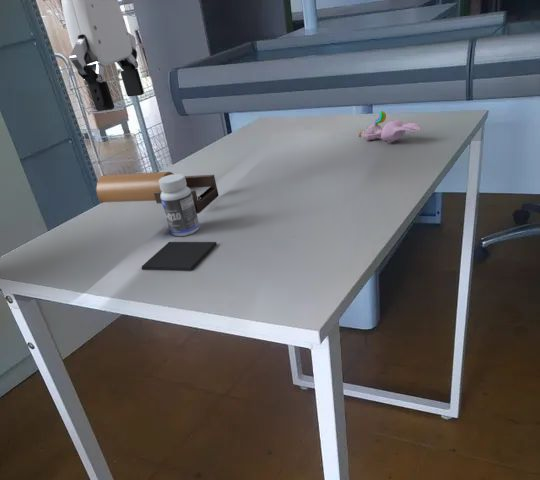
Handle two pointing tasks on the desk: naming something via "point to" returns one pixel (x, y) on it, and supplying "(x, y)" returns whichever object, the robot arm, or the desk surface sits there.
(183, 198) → the pill bottle
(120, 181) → the paper roll
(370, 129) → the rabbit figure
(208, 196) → the roll stand
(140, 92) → the robot arm
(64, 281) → the desk surface
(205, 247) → the coaster
